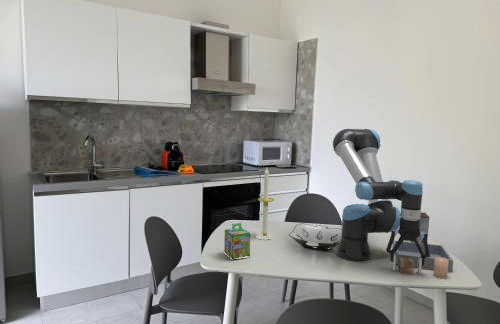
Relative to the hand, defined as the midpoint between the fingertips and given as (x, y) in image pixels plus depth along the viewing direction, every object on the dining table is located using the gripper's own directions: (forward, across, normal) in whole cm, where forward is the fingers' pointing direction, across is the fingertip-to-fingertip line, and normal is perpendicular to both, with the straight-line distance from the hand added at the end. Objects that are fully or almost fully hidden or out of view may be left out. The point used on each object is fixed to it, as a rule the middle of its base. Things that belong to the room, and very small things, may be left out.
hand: (406, 270), depth 154 cm
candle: (+1, -66, +24) cm, 70 cm away
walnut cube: (0, 0, 0) cm, 0 cm away
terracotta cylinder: (0, +13, 0) cm, 13 cm away
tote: (0, +8, +16) cm, 17 cm away
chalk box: (+1, -72, -6) cm, 72 cm away
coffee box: (+1, +11, +38) cm, 40 cm away
